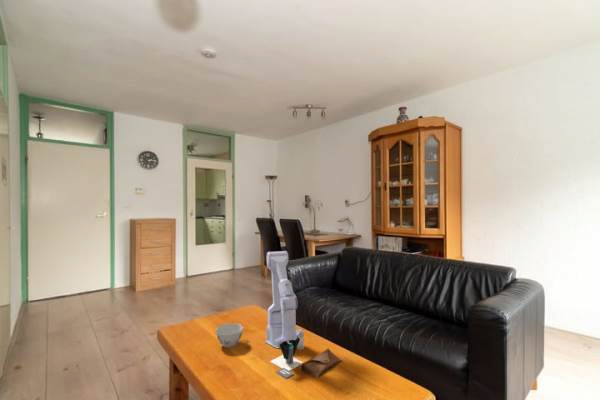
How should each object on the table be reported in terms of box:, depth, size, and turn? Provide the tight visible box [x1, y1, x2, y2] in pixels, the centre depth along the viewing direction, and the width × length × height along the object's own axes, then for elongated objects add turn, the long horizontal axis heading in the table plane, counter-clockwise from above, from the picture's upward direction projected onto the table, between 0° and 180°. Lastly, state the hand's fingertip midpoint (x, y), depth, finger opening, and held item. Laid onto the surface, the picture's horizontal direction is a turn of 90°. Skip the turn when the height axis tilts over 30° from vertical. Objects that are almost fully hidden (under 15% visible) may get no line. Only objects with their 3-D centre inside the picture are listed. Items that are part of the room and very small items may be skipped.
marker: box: [286, 343, 294, 364], centre depth 125 cm, size 3×3×7 cm
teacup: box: [215, 322, 244, 349], centre depth 142 cm, size 15×12×8 cm
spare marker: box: [296, 331, 305, 351], centre depth 138 cm, size 3×3×7 cm
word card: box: [275, 368, 294, 380], centre depth 117 cm, size 6×4×1 cm, turn 45°
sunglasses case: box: [301, 348, 343, 379], centre depth 123 cm, size 18×7×7 cm
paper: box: [269, 354, 304, 372], centre depth 125 cm, size 11×9×1 cm
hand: (289, 356), depth 125 cm, fingers closed on marker, 3 cm apart
